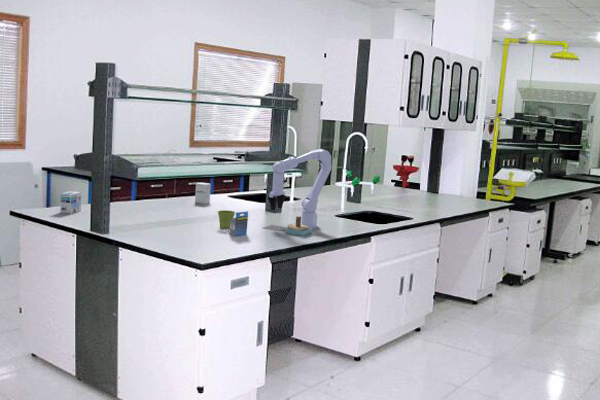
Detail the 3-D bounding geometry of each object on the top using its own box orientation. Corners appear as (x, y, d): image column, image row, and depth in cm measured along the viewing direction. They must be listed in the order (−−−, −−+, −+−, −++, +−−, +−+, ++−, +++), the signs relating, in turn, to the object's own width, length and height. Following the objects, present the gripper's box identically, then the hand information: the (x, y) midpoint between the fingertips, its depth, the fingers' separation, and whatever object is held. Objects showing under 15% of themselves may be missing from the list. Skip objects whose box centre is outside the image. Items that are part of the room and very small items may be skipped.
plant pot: (222, 230, 338) (223, 213, 337) (213, 226, 346) (214, 210, 344) (237, 229, 344) (238, 213, 342) (228, 225, 351) (229, 209, 350)
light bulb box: (71, 214, 353) (71, 194, 352) (59, 212, 354) (60, 193, 353) (81, 210, 364) (81, 191, 362) (70, 209, 365) (70, 190, 363)
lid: (293, 225, 350) (294, 214, 349) (311, 228, 345) (312, 217, 344) (283, 228, 340) (284, 216, 339) (302, 231, 335) (303, 219, 334)
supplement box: (194, 202, 414) (195, 183, 412) (199, 201, 421) (200, 182, 419) (205, 204, 412) (206, 184, 410) (210, 202, 419) (211, 183, 417)
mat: (272, 225, 360) (272, 224, 360) (291, 228, 355) (291, 228, 355) (261, 228, 349) (261, 228, 349) (281, 232, 344) (281, 231, 344)
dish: (294, 230, 349) (295, 225, 349) (311, 233, 345) (311, 228, 345) (286, 233, 340) (286, 228, 340) (303, 236, 336) (303, 231, 336)
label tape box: (241, 233, 335) (242, 209, 333) (247, 234, 332) (248, 211, 330) (229, 235, 328) (230, 211, 326) (234, 236, 325) (236, 212, 323)
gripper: (277, 182, 361) (276, 206, 363) (264, 184, 348) (263, 209, 350) (289, 183, 358) (287, 208, 360) (276, 186, 345) (274, 211, 347)
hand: (276, 209), depth 355 cm, fingers open, 7 cm apart
